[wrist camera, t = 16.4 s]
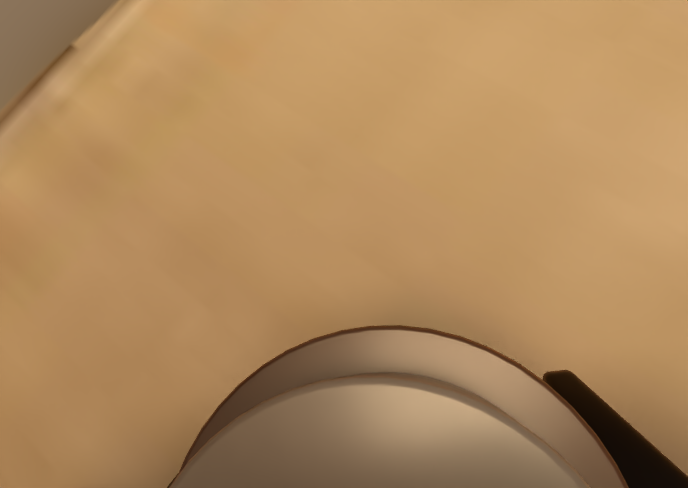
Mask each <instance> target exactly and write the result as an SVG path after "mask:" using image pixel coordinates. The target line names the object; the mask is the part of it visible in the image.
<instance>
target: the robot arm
mask: <svg viewBox="0 0 688 488" xmlns="http://www.w3.org/2000/svg"><path fill="white" fill-rule="evenodd" d="M543 381H544V382H546V383H547V384H548V385H549V386H550V387H552V388H553V389H554V390H555V391H556V392H557V393H558V394H559V395H560V396H561V397H563V398H564V399H565V400H566V401H567V402H568V403H569V404H570V405H571V406H572V407H573V408H574V409H575V410H576V411H577V412H578V413H579V415H580V416H581V417H582V418H583V419H584V420H585V422H586V423H587V424H588V425H589V426H590V427H591V429H592V430H593V431H594V432H595V433H596V434H597V436H598V437H599V439H600V440H601V442H602V443H603V445H604V446H605V448H606V449H607V451H608V452H609V454H610V455H611V457H612V458H613V460H614V461H615V463H616V464H617V466H618V468H619V470H620V472H621V474H622V476H623V478H624V479H625V481H626V483H627V485H628V487H629V488H688V476H687V475H685V474H684V473H683V472H682V471H681V470H680V469H679V468H678V467H677V466H675V465H674V464H673V463H672V462H671V461H670V460H669V459H668V458H667V457H665V456H664V455H663V454H662V453H661V452H660V451H659V450H658V449H657V448H655V447H654V446H653V445H652V444H651V443H650V442H649V441H648V440H647V439H645V438H644V437H643V436H642V435H641V434H640V433H639V432H638V431H637V430H636V429H634V428H633V427H632V426H631V425H630V424H629V423H628V422H627V421H626V420H624V419H623V418H622V417H621V416H620V415H619V414H618V413H617V412H616V411H614V410H613V409H612V408H611V407H610V406H609V405H608V404H607V403H606V402H604V401H603V400H602V399H601V398H600V397H599V396H598V395H597V394H596V393H594V392H593V391H592V390H591V389H590V388H589V387H588V386H587V385H586V384H584V383H583V382H582V381H581V380H580V379H579V378H578V377H577V376H576V375H574V374H573V373H572V372H571V371H568V370H560V371H551V372H546V373H545V374H544V376H543ZM178 474H179V473H178ZM178 474H177V475H176V477H175V478H174V479H173V481H172V482H171V483H170V484H169V486H168V487H167V488H169V487H170V486H171V484H172V483H173V482H174V480H175V479H176V478H177V476H178Z"/></svg>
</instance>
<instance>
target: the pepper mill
mask: <svg viewBox="0 0 688 488" xmlns="http://www.w3.org/2000/svg"><path fill="white" fill-rule="evenodd" d="M169 488H629V487H628V485H627V483H626V481H625V479H624V478H623V476H622V474H621V472H620V470H619V468H618V466H617V464H616V463H615V461H614V460H613V458H612V457H611V455H610V454H609V452H608V451H607V449H606V448H605V446H604V445H603V443H602V442H601V440H600V439H599V437H598V436H597V434H596V433H595V432H594V431H593V430H592V429H591V427H590V426H589V425H588V424H587V423H586V422H585V420H584V419H583V418H582V417H581V416H580V415H579V413H578V412H577V411H576V410H575V409H574V408H573V407H572V406H571V405H570V404H569V403H568V402H567V401H566V400H565V399H564V398H563V397H561V396H560V395H559V394H558V393H557V392H556V391H555V390H554V389H553V388H552V387H550V386H549V385H548V384H547V383H546V382H544V381H543V380H542V379H540V378H539V377H537V376H536V375H535V374H533V373H532V372H530V371H529V370H528V369H526V368H525V367H523V366H522V365H521V364H519V363H517V362H515V361H514V360H512V359H510V358H508V357H506V356H504V355H503V354H501V353H499V352H497V351H495V350H493V349H491V348H489V347H487V346H484V345H482V344H479V343H476V342H474V341H471V340H469V339H466V338H464V337H461V336H457V335H453V334H449V333H445V332H441V331H437V330H433V329H427V328H419V327H410V326H401V325H396V326H367V327H360V328H354V329H347V330H341V331H338V332H334V333H331V334H327V335H324V336H320V337H317V338H314V339H311V340H309V341H307V342H305V343H302V344H300V345H298V346H296V347H293V348H291V349H289V350H287V351H285V352H283V353H282V354H280V355H279V356H277V357H275V358H274V359H272V360H270V361H269V362H267V363H265V364H264V365H262V366H261V367H260V368H259V369H257V370H256V371H255V372H254V373H252V374H251V375H250V376H249V377H247V378H246V379H245V380H244V381H242V382H241V383H240V384H239V385H238V386H237V387H236V388H235V389H234V390H233V391H232V392H231V393H230V394H229V395H228V396H227V397H226V398H225V400H224V401H223V402H222V403H221V404H220V405H219V406H218V407H217V409H216V410H215V411H214V413H213V414H212V415H211V417H210V418H209V419H208V421H207V422H206V423H205V425H204V426H203V427H202V429H201V431H200V432H199V434H198V436H197V438H196V439H195V441H194V443H193V445H192V446H191V448H190V450H189V452H188V453H187V455H186V457H185V460H184V462H183V464H182V467H181V469H180V471H179V474H178V476H177V478H176V479H175V480H174V482H173V483H172V484H171V486H170V487H169Z"/></svg>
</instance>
